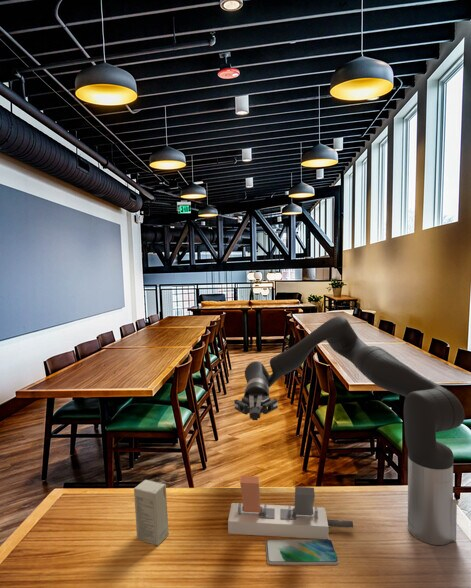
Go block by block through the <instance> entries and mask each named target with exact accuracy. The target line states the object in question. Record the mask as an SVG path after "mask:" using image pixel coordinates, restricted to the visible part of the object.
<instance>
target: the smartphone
mask: <svg viewBox="0 0 471 588" xmlns="http://www.w3.org/2000/svg"><path fill="white" fill-rule="evenodd" d="M265 552H266V554H265V555H266V563H267V564H268V565H269V566H291V565H292V566H301V565H304V566H312V565H313V566H315V565H316V566H323V565H324V566H325V565H326V566H331V565H333V566H336V565H338V564H339V563H340V562H339V558H338V555H337V552H336V549H335V546H334V543H333V541H332V539H330V538H329V539H314V538H298V539H297V538H293V539H292V538H290V539H289V538H288V539H287V538H286V539H285V538H284V539H281V538H279V539H276V538H273V539H271V538H270V539H266V540H265Z"/></svg>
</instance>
